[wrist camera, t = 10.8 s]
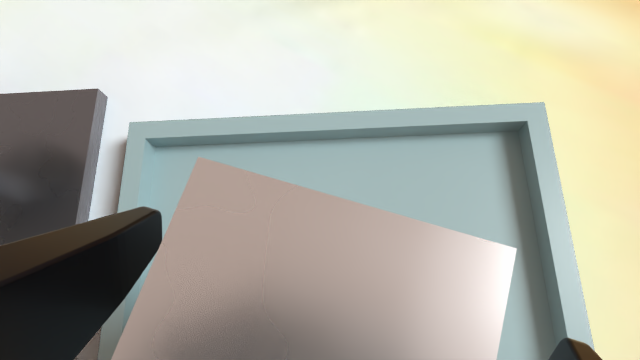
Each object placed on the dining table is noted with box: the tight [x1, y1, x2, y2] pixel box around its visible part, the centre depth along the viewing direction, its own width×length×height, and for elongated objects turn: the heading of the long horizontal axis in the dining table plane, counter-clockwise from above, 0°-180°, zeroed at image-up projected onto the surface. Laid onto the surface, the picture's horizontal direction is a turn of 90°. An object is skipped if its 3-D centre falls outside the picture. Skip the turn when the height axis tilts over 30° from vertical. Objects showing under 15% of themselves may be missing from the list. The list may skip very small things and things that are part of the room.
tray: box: [97, 102, 595, 360], centre depth 16 cm, size 18×18×2 cm
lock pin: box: [111, 157, 517, 360], centre depth 10 cm, size 4×4×12 cm
